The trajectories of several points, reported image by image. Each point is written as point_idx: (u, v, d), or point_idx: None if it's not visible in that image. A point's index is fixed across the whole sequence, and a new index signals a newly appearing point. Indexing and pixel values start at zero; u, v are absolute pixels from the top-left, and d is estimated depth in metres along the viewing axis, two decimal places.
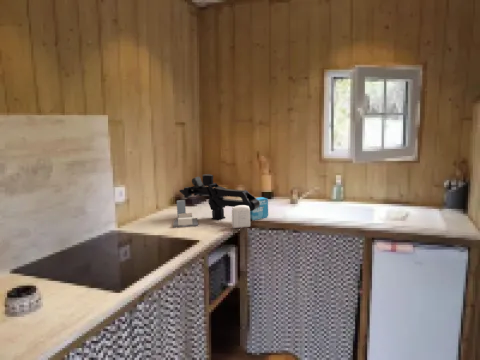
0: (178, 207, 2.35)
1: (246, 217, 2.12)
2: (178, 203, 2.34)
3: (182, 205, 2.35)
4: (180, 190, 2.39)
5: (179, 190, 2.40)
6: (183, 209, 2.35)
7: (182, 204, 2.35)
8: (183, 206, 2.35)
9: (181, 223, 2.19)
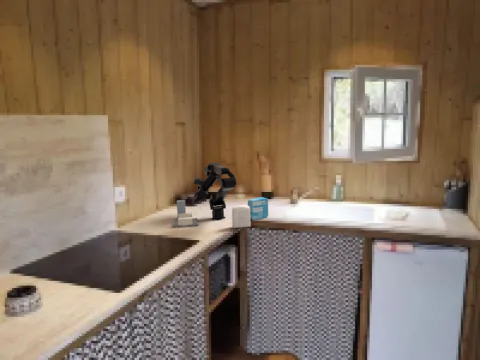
0: (178, 207, 2.35)
1: (246, 217, 2.12)
2: (178, 203, 2.34)
3: (182, 205, 2.35)
4: (195, 200, 2.34)
5: (194, 201, 2.35)
6: (183, 209, 2.35)
7: (182, 204, 2.35)
8: (183, 206, 2.35)
9: (181, 223, 2.19)
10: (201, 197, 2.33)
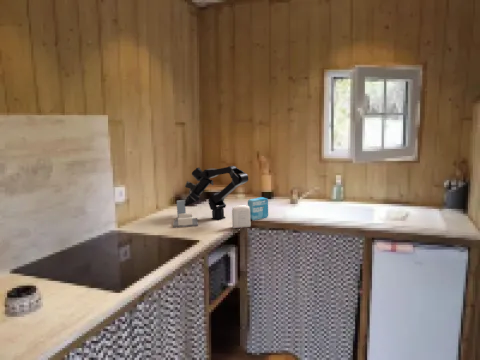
0: (178, 207, 2.35)
1: (246, 217, 2.12)
2: (178, 203, 2.34)
3: (182, 205, 2.35)
4: (185, 204, 2.32)
5: None
6: (183, 209, 2.35)
7: (182, 204, 2.35)
8: (183, 206, 2.35)
9: (181, 223, 2.19)
10: (192, 201, 2.32)
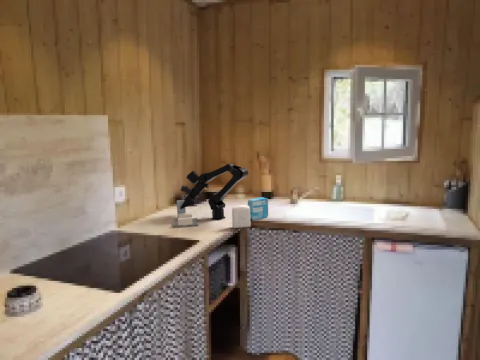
0: (178, 207, 2.35)
1: (246, 217, 2.12)
2: (178, 203, 2.34)
3: None
4: (181, 207, 2.34)
5: (180, 208, 2.35)
6: (183, 209, 2.35)
7: (182, 203, 2.35)
8: None
9: (181, 223, 2.19)
10: (187, 204, 2.33)
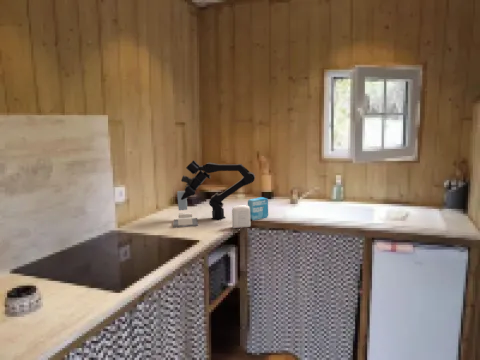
0: (179, 198, 2.29)
1: (246, 217, 2.12)
2: (179, 194, 2.29)
3: None
4: (182, 197, 2.29)
5: (181, 199, 2.29)
6: (184, 200, 2.30)
7: (182, 194, 2.29)
8: None
9: (181, 223, 2.19)
10: (188, 194, 2.28)
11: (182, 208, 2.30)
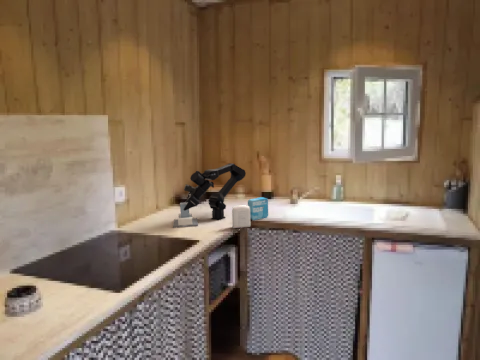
0: (182, 210, 2.22)
1: (246, 217, 2.12)
2: (181, 206, 2.22)
3: None
4: (184, 208, 2.19)
5: (183, 209, 2.19)
6: (187, 212, 2.23)
7: None
8: (187, 209, 2.22)
9: (181, 223, 2.19)
10: (191, 205, 2.18)
11: None
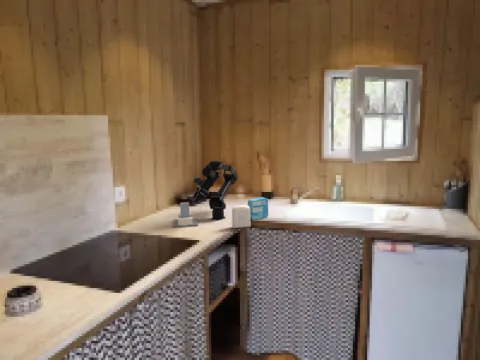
0: (182, 210, 2.22)
1: (246, 217, 2.12)
2: (182, 206, 2.22)
3: (186, 208, 2.22)
4: (194, 200, 2.22)
5: None
6: (187, 212, 2.23)
7: (186, 206, 2.22)
8: (187, 209, 2.22)
9: (181, 223, 2.19)
10: (201, 197, 2.21)
11: None
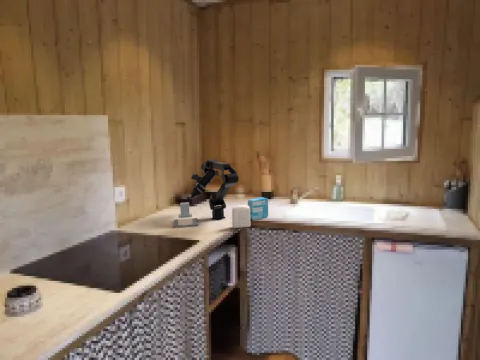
0: (182, 210, 2.22)
1: (246, 217, 2.12)
2: (182, 206, 2.22)
3: (186, 208, 2.22)
4: (192, 195, 2.32)
5: None
6: (187, 212, 2.23)
7: (186, 206, 2.22)
8: (187, 209, 2.22)
9: (181, 223, 2.19)
10: (198, 192, 2.31)
11: None
